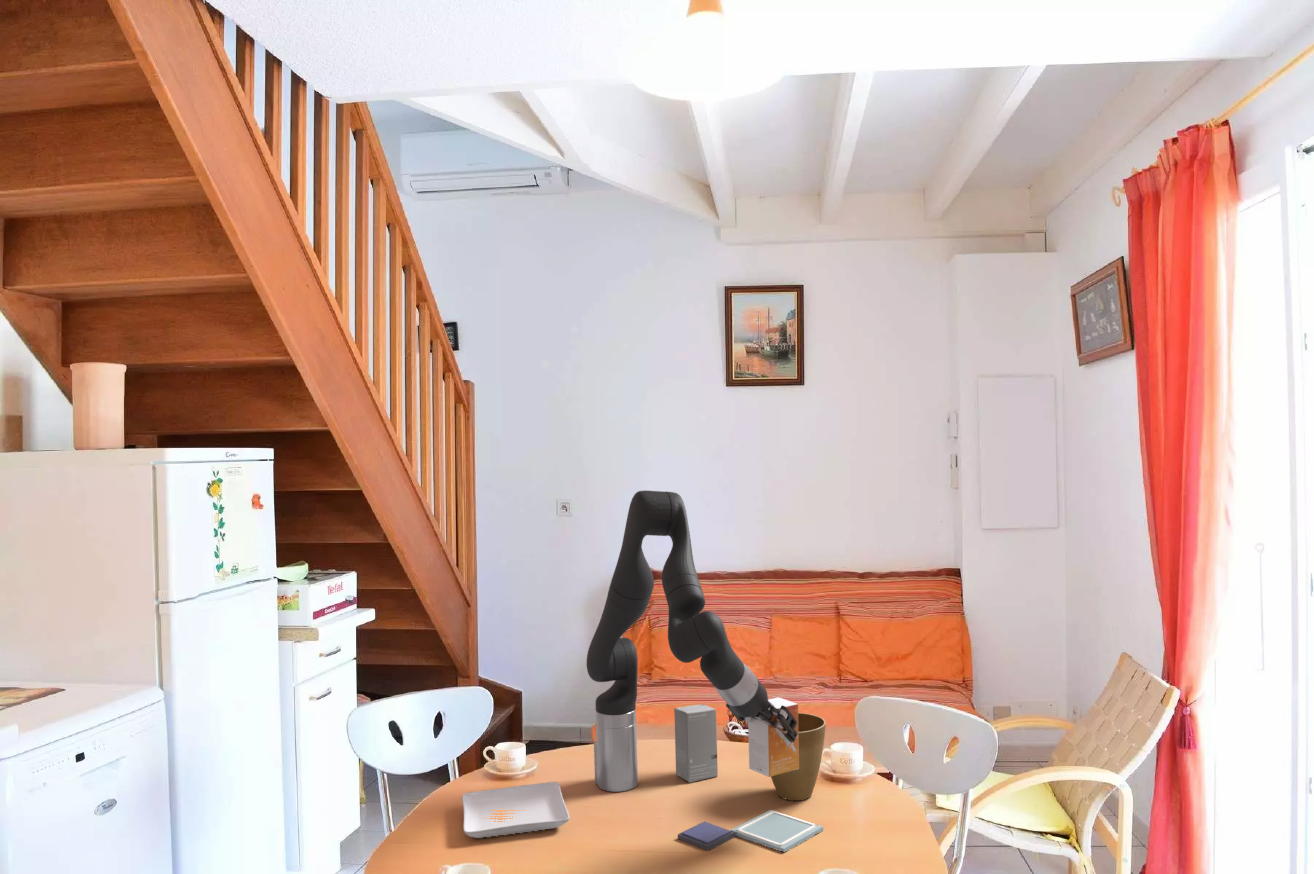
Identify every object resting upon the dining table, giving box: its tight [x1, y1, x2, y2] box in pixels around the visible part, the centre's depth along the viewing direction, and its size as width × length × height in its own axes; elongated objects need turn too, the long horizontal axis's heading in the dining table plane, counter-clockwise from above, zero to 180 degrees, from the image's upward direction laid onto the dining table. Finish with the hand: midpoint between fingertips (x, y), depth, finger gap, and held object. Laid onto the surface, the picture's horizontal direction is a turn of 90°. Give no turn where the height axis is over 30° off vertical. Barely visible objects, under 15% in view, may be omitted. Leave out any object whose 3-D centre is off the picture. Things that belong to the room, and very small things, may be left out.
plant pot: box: [770, 712, 827, 801], centre depth 198 cm, size 15×15×16 cm
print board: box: [730, 809, 824, 853], centre depth 179 cm, size 13×13×1 cm
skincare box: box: [673, 703, 719, 783], centre depth 211 cm, size 8×7×16 cm
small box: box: [747, 696, 799, 778], centre depth 179 cm, size 8×6×13 cm
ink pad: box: [677, 821, 736, 851], centre depth 177 cm, size 8×8×1 cm
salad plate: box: [461, 781, 571, 839], centre depth 190 cm, size 21×21×3 cm
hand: (778, 734), depth 180 cm, fingers closed on small box, 7 cm apart
